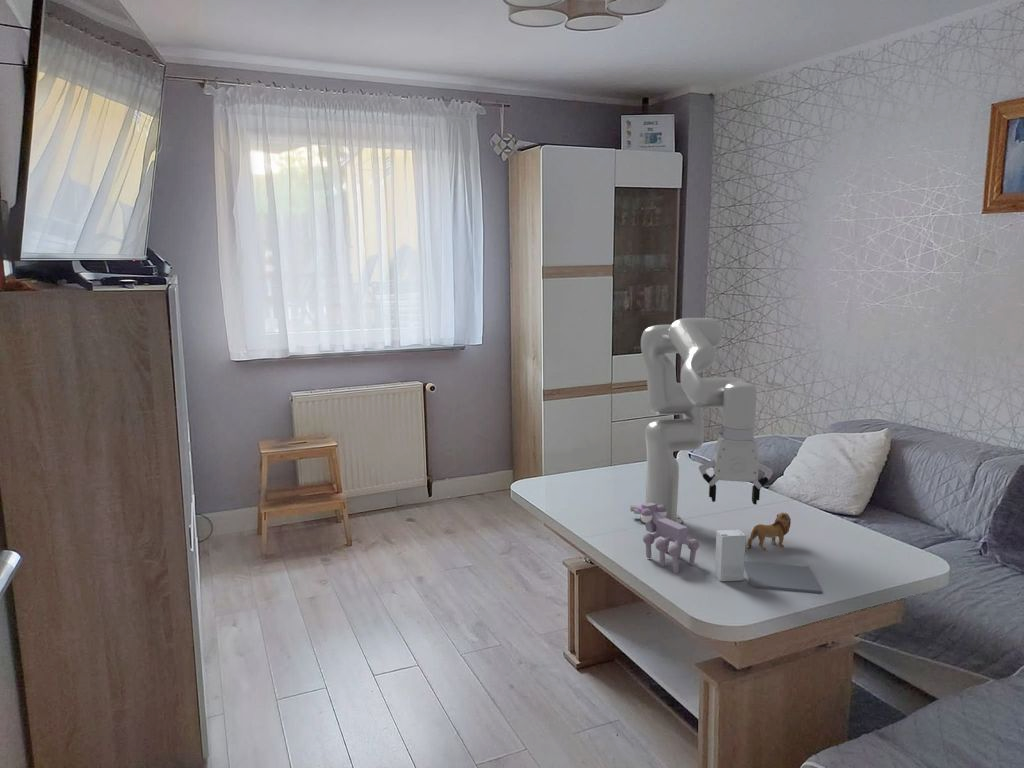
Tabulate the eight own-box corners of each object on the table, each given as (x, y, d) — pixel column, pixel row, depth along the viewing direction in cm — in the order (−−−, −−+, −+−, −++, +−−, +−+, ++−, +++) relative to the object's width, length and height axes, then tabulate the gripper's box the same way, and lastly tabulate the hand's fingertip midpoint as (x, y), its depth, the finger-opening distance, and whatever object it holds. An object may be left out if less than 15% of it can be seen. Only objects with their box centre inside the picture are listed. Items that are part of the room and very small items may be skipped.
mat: (751, 587, 169) (751, 584, 169) (743, 563, 183) (744, 561, 183) (821, 593, 166) (821, 590, 166) (808, 568, 180) (808, 566, 180)
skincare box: (736, 573, 177) (739, 528, 174) (744, 581, 172) (747, 535, 170) (713, 574, 176) (715, 529, 174) (719, 582, 172) (722, 536, 170)
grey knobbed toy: (619, 548, 192) (623, 500, 190) (647, 542, 198) (651, 496, 196) (672, 575, 175) (676, 523, 173) (701, 567, 181) (706, 517, 179)
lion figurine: (779, 538, 200) (781, 508, 198) (794, 545, 195) (796, 514, 193) (741, 547, 193) (743, 517, 191) (755, 554, 188) (758, 523, 187)
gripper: (701, 435, 166) (698, 504, 168) (778, 439, 162) (773, 509, 165) (699, 428, 173) (696, 494, 176) (772, 431, 170) (767, 498, 173)
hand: (733, 501), depth 171 cm, fingers open, 9 cm apart
